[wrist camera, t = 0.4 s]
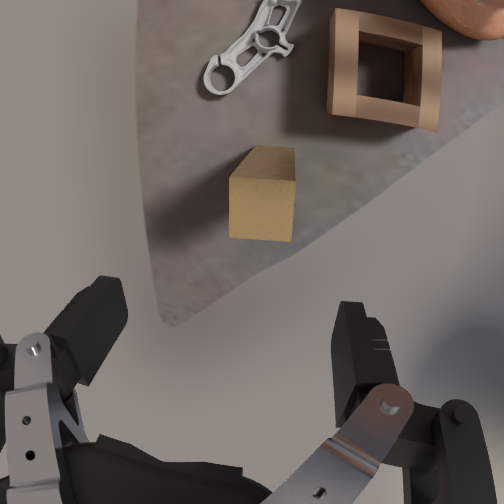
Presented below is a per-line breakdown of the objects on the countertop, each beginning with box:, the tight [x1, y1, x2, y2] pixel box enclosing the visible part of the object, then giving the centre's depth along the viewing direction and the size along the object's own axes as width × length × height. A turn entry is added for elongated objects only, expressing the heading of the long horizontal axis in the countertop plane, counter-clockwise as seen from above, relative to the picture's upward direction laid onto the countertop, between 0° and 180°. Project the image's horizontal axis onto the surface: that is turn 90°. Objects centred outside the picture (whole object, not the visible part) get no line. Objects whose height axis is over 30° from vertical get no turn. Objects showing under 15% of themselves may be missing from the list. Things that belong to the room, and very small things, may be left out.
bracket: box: [203, 0, 303, 95], centre depth 25 cm, size 8×2×15 cm
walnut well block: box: [326, 8, 442, 132], centre depth 24 cm, size 10×10×5 cm
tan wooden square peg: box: [229, 146, 296, 242], centre depth 26 cm, size 4×4×14 cm
